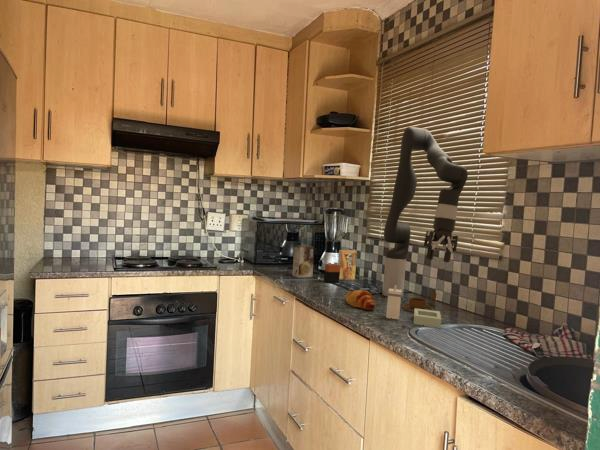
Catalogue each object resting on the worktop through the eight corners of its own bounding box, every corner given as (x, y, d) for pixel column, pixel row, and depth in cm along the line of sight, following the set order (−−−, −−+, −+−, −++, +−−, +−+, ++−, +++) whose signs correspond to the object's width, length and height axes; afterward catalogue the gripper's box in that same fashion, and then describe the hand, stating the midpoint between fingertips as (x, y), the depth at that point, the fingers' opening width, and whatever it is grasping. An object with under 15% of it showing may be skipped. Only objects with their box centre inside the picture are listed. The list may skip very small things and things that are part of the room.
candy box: (351, 278, 241) (354, 250, 240) (354, 279, 237) (357, 251, 236) (336, 278, 238) (338, 249, 237) (339, 279, 234) (341, 250, 233)
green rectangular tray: (413, 316, 167) (414, 308, 166) (438, 319, 164) (439, 311, 164) (413, 324, 155) (414, 315, 155) (440, 327, 153) (441, 319, 153)
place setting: (392, 306, 184) (393, 291, 184) (432, 305, 191) (433, 291, 191) (417, 317, 168) (418, 302, 167) (460, 316, 175) (461, 301, 174)
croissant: (341, 307, 187) (334, 290, 185) (360, 296, 190) (354, 279, 188) (366, 320, 167) (359, 302, 165) (388, 307, 170) (381, 289, 169)
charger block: (386, 314, 165) (389, 284, 165) (399, 316, 164) (402, 285, 164) (385, 317, 161) (388, 286, 160) (398, 319, 160) (401, 287, 159)
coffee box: (306, 275, 240) (308, 245, 239) (312, 277, 235) (315, 246, 234) (291, 275, 235) (294, 245, 234) (297, 277, 230) (300, 246, 229)
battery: (339, 283, 223) (341, 263, 223) (327, 283, 221) (328, 263, 220) (335, 281, 227) (336, 262, 227) (323, 281, 225) (325, 261, 224)
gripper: (451, 219, 171) (444, 261, 171) (423, 213, 164) (416, 257, 164) (466, 221, 164) (459, 264, 164) (439, 215, 157) (431, 260, 158)
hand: (437, 260), depth 164 cm, fingers open, 8 cm apart
